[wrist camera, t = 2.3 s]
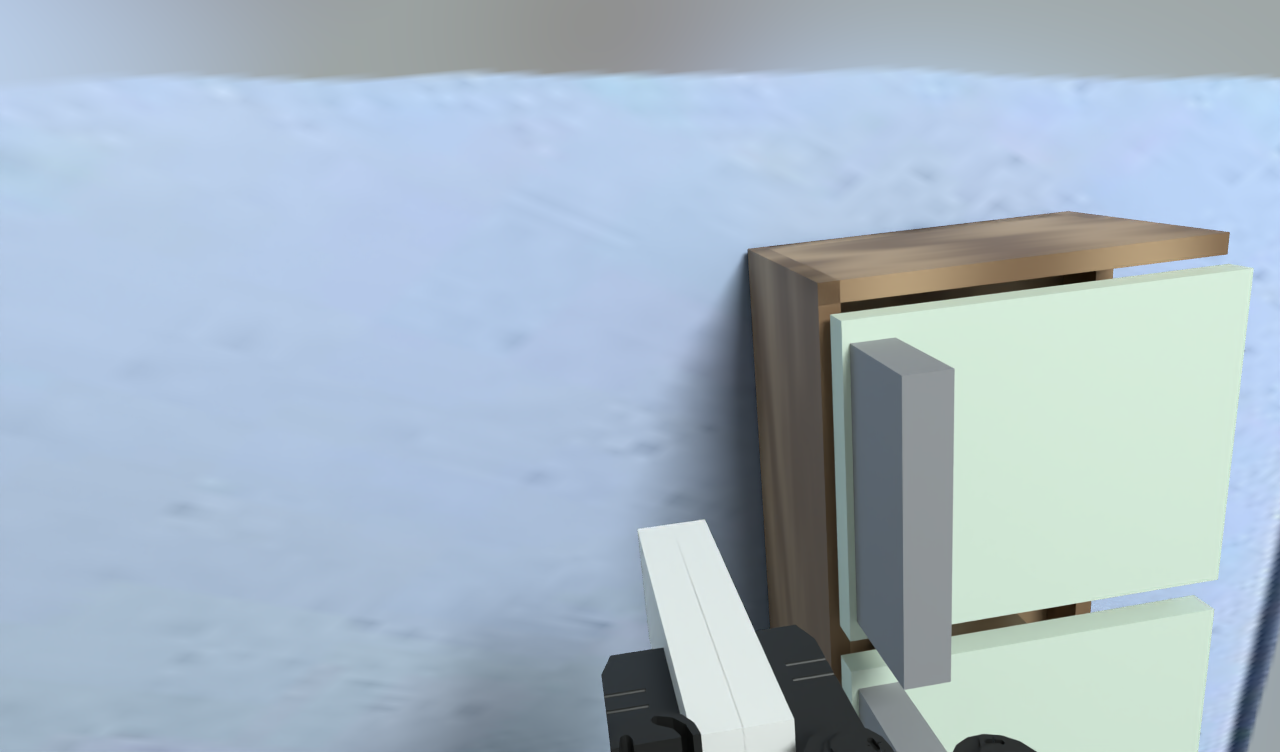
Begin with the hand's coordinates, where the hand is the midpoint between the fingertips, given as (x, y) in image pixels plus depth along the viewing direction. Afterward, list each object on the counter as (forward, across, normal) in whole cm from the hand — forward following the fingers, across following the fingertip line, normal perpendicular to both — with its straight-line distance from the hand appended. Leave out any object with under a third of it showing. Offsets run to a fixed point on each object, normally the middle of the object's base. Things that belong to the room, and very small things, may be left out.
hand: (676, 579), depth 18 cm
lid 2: (+4, +11, -10) cm, 15 cm away
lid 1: (+4, +11, 0) cm, 11 cm away
